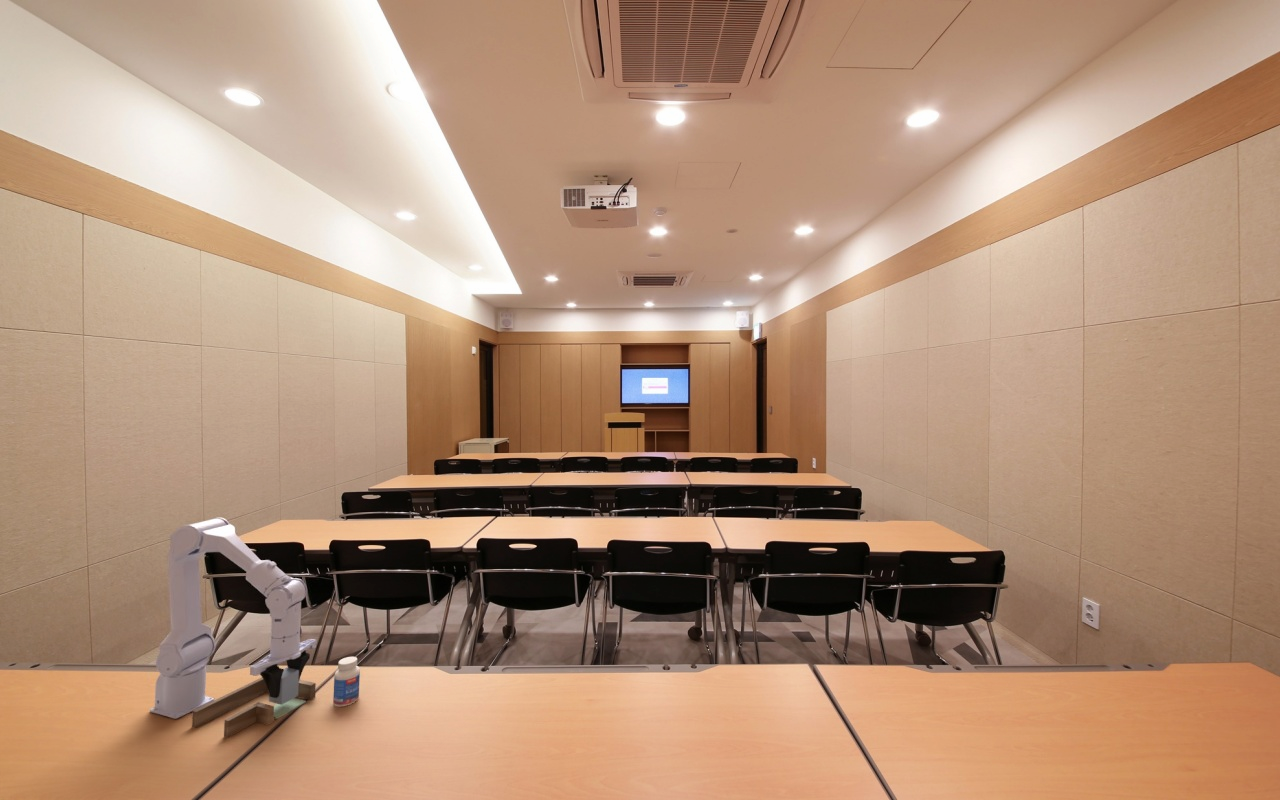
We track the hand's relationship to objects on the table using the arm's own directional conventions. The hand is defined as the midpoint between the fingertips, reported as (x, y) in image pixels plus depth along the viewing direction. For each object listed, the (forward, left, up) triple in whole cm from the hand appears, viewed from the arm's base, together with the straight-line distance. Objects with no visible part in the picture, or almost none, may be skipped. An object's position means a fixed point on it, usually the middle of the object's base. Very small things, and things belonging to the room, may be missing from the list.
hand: (283, 691), depth 117 cm
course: (-5, -3, -4) cm, 7 cm away
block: (0, 0, -2) cm, 2 cm away
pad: (0, 0, -4) cm, 4 cm away
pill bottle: (+11, +7, -4) cm, 14 cm away
